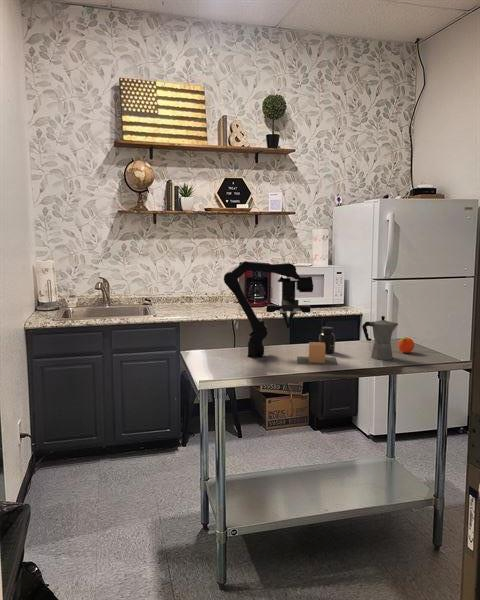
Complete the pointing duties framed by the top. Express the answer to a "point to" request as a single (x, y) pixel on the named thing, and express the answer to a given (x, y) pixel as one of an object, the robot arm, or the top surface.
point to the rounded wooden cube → (317, 352)
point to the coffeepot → (381, 338)
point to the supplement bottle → (328, 339)
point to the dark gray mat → (306, 362)
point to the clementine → (406, 345)
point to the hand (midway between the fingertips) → (288, 328)
